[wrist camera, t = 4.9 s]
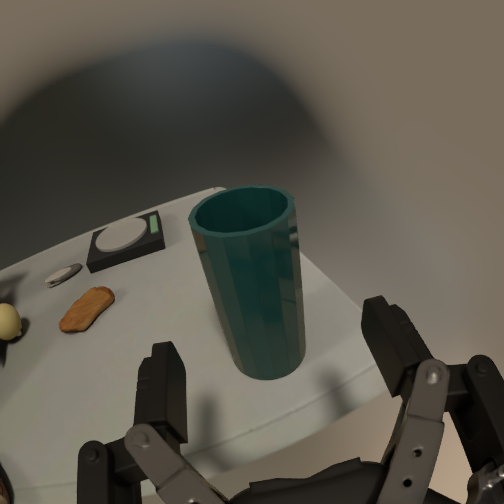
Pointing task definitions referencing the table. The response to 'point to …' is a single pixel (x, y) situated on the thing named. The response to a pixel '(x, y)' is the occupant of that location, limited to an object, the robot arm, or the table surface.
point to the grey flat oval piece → (62, 275)
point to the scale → (125, 241)
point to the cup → (254, 275)
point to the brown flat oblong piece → (86, 309)
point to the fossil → (3, 494)
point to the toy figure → (9, 322)
